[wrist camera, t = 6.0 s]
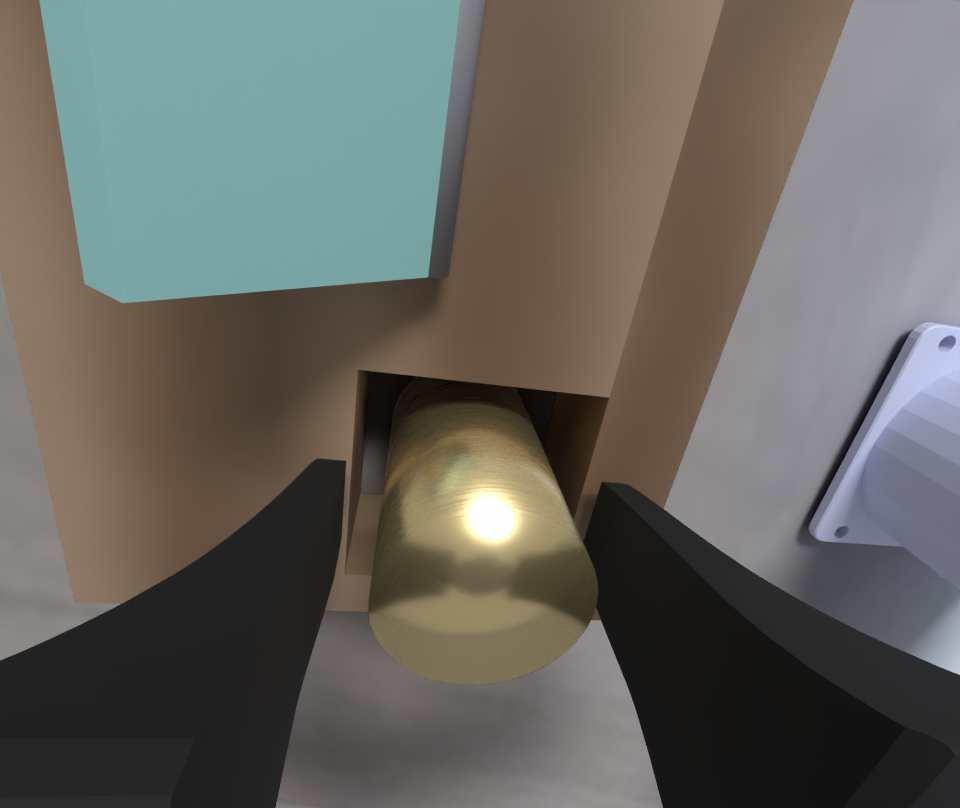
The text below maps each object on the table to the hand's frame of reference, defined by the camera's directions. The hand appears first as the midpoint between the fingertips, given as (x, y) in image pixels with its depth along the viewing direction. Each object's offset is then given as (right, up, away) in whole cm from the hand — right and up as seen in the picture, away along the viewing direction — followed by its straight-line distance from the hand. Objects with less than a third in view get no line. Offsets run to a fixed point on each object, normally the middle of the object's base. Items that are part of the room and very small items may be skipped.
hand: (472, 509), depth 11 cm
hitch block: (-2, +6, +2) cm, 6 cm away
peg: (0, +2, +4) cm, 4 cm away
